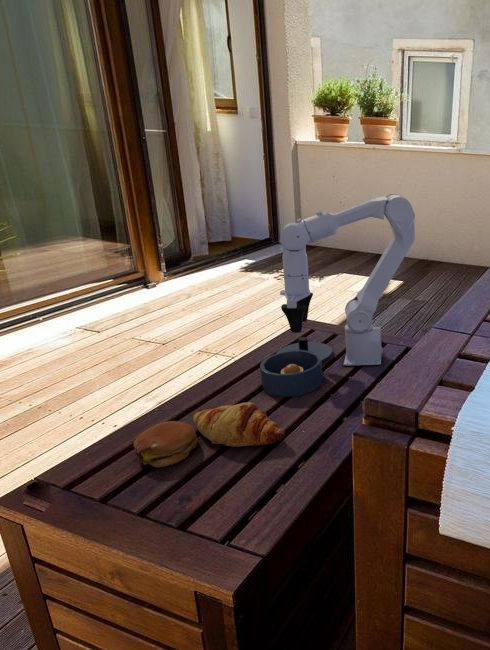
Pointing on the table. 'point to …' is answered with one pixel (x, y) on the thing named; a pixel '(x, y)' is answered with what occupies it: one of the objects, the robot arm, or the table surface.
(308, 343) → the lid
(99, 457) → the table surface
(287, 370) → the ball in tan cup
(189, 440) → the burger
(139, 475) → the table surface
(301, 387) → the pot
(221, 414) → the croissant
